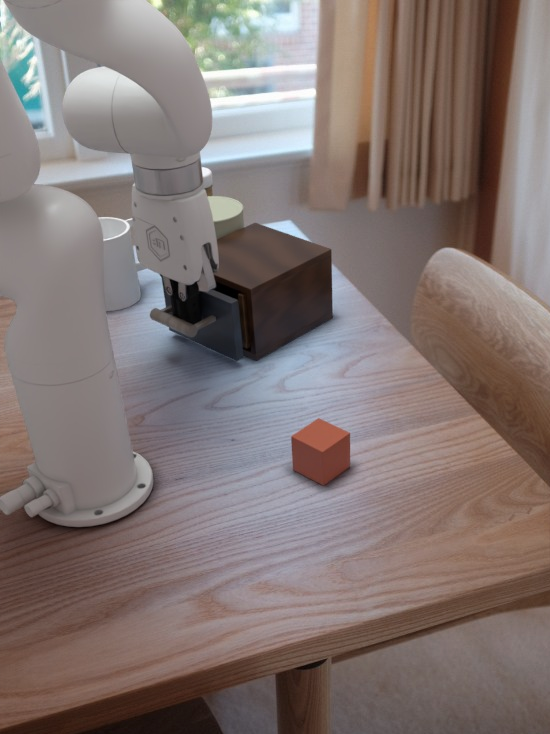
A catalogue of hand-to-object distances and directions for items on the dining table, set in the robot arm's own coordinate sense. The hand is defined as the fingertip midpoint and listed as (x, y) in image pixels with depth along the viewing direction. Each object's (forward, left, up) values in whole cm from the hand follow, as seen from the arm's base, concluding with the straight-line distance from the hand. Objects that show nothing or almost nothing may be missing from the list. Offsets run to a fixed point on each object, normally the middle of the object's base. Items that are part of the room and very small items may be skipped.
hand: (188, 323), depth 112 cm
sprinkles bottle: (+21, +20, -5) cm, 29 cm away
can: (+16, +12, -5) cm, 20 cm away
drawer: (+6, 0, -4) cm, 7 cm away
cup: (+6, +21, -5) cm, 22 cm away
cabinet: (+12, 0, -5) cm, 13 cm away
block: (-7, -28, -5) cm, 29 cm away
